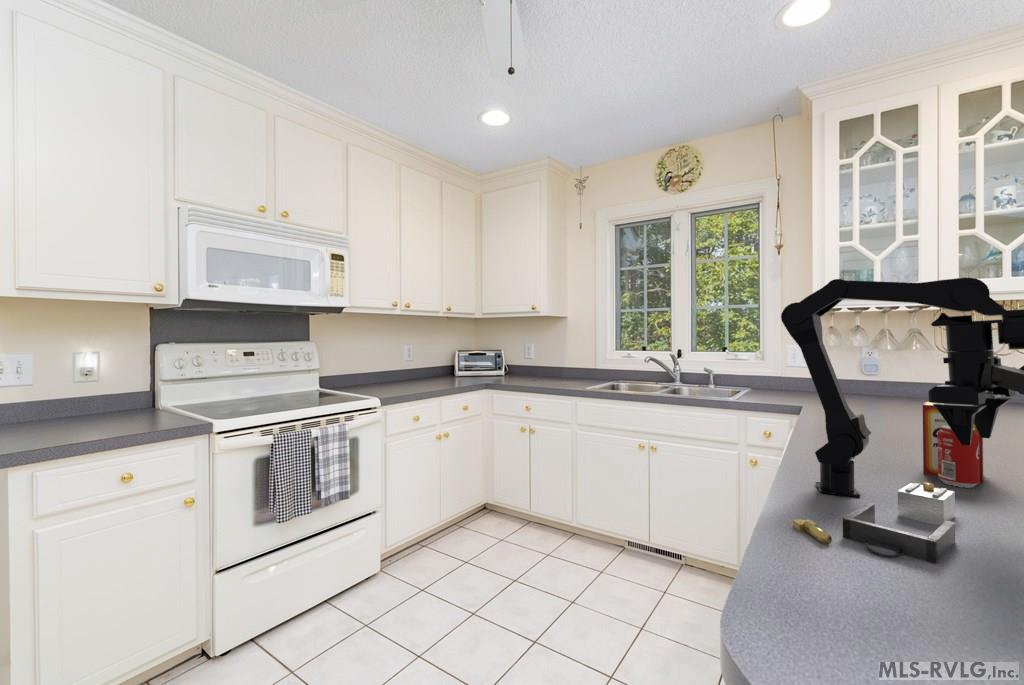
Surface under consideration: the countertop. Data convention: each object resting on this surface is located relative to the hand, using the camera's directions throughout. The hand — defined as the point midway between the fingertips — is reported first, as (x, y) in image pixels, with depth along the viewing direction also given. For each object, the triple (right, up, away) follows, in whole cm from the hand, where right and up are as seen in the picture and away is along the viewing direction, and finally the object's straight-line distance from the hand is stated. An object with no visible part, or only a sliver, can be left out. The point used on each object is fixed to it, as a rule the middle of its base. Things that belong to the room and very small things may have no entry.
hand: (976, 441), depth 80 cm
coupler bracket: (-22, -13, -9) cm, 27 cm away
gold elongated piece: (-32, -14, -7) cm, 36 cm away
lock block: (-8, -13, +1) cm, 16 cm away
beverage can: (+14, -13, +17) cm, 25 cm away
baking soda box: (+19, -13, +24) cm, 33 cm away
